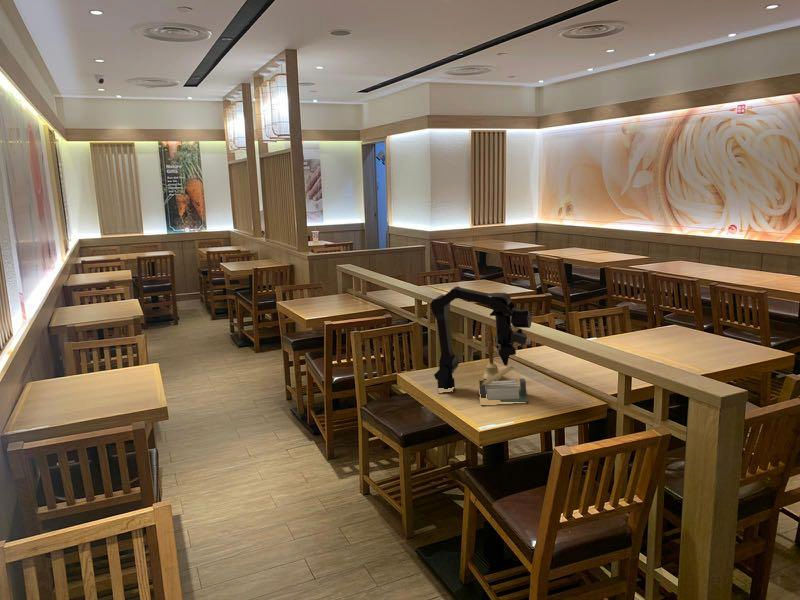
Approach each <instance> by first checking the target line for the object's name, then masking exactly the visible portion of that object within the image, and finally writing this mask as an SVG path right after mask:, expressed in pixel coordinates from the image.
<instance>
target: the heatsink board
mask: <svg viewBox="0 0 800 600" xmlns="http://www.w3.org/2000/svg"><path fill="white" fill-rule="evenodd" d="M484 381H485V380H484V379H482V380H479V381H478V382H479V383H478V384H479V389H480V394H481V398H486V394H487V399H488V400H500V401H501V402H528V403H529V399H528V397H527V386H526V385H527V381H526V380H525V377H524V378H523V377H522V378H519V385H518V382H517V380H516V379H515V380H503V381H501V380H497V381H493V382H491V383H490V384H488V385H487V386H485V385H482V382H484Z"/></svg>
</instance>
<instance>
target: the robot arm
mask: <svg viewBox="0 0 800 600" xmlns="http://www.w3.org/2000/svg"><path fill="white" fill-rule="evenodd" d="M455 299H459V300H463V301H465V302H466V301H467V302H471V303H476V304H481V305H484V306H487V307H488V308H490V309H492V311H491V313H489V316H491V317H495V332H496V334H495V335H493V338H494V343H496V344H497V345H495V346H496V351H497V352H498V356H499V357H500V360H501V361H502V364H503V365H504V366H508V363H509V358H510V356H515V355H516V354H517V352H516V351H517V350H516V348H515V346H514V345H513V344H514V343H517V344H520V345H523V346H525V345H526V343H527V340H528V336H527V334H526V333H525V332H523V329H521V328H524V329H530V328H531V326H532V318H533V317H532V315H531V312H530V309H527V308H525V309H518V307H517V306H516V304H515V303H514V302H513V300H512V297H511V296H510V294H508V293H507V292H484V291H481V290H480V291H479V290H474V289H468V288H464V287H461V286H455V287H453V288H452V289H451V290H449V291H448V292H447V293H446V294H440V295H439V296H437V297H436V298H434V299H433V300H432V301H431V302H430V310H431V312H432V315H433V317H434V319H435V320H436V327H437V333H438V340H439V347H440V348H439V349H440V358H439V361H438V363H439V364H438V370H437V371H436V372H435V373H434V374H433V376H434V379H435V380H437V389H438V388H444V389H448V388H452V387H455V388H456V386H455V385H456V384H455V378H454V377H453V374H454V373H455V371H456V370H457V369H458V367H459V365H460V361H459V355H458V354H455V353H454V351H453V346H452V338H451V331H450V322H449V315H450V309H451V303H452V302H453V301H454V300H455ZM512 327H514V328H517V329H516V330H513V329H512Z"/></svg>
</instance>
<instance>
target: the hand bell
mask: <svg viewBox="0 0 800 600" xmlns="http://www.w3.org/2000/svg"><path fill="white" fill-rule="evenodd" d="M486 348H487V354H488V356H489V357H488V362H489V363H488V364H487V365H486V368H485V369H486V370H485V372H484V374H483V375H482V379H483V378H485V379H489V378H490V377H492V376H494V375H495V374H497V373H499V372H500V371H499V369H498V365H497V364H496V363H494V362H495V361H494V357H493V356H494V346H493V343H492V341H488V342H487V347H486ZM502 378H503V376H501V377H500V378H498V379H496V380H497V381H500V380H501V379H502ZM499 379H500V380H499Z"/></svg>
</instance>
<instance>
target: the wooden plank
mask: <svg viewBox="0 0 800 600" xmlns="http://www.w3.org/2000/svg"><path fill="white" fill-rule="evenodd" d="M514 369H515V368H514V366H513V364H510V365H509V366H508V365H507V367H504V369H502V370H500V371H499V373H497V374H495V375H494V376H492V377H490V378H489V379H487V380H484V382H482V385H485V387H486V386H487V385H488V384H490V383H491V382H496V381H495V380H496V379H498V378H500V377H501V376H502V377H503V376H505V375H507V374H508V373H509V372H511V371H513V370H514Z"/></svg>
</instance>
